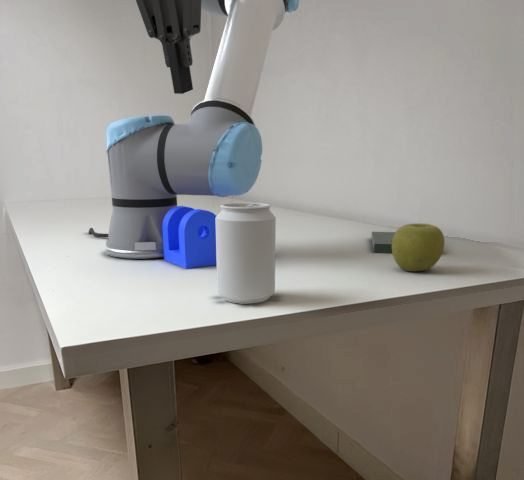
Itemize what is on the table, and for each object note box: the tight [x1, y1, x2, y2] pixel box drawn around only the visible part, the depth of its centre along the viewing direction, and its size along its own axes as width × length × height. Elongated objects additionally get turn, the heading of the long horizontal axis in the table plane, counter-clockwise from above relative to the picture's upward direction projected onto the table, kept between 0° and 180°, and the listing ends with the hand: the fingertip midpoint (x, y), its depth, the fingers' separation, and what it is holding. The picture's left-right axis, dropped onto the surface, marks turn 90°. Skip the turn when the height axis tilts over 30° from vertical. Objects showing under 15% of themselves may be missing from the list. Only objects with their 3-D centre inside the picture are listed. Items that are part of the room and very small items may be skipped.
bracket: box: [162, 205, 217, 269], centre depth 96 cm, size 18×8×9 cm, turn 124°
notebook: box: [370, 231, 396, 254], centre depth 110 cm, size 12×16×2 cm
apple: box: [392, 223, 445, 272], centre depth 87 cm, size 8×8×7 cm
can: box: [215, 202, 277, 305], centre depth 70 cm, size 8×8×12 cm
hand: (183, 91), depth 82 cm, fingers closed
